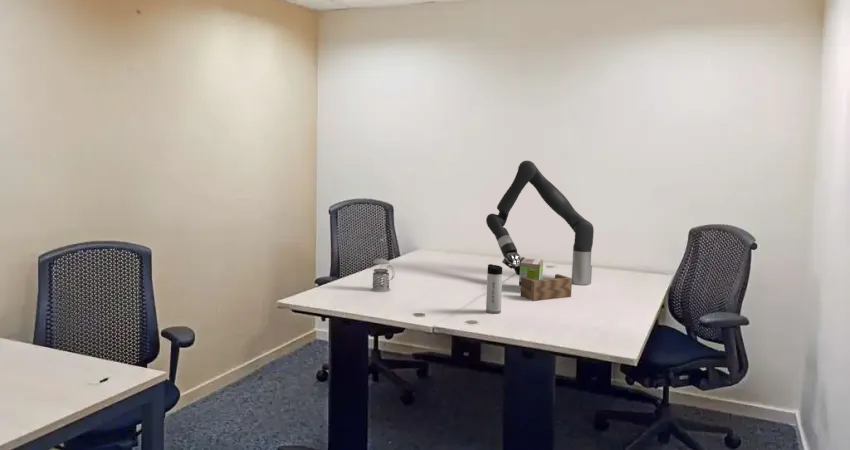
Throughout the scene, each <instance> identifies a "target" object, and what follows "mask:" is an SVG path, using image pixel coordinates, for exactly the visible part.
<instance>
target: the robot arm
mask: <svg viewBox="0 0 850 450" xmlns="http://www.w3.org/2000/svg"><path fill="white" fill-rule="evenodd" d="M527 184H531V185H532V187H533V188H535V190H536V191H537V192H538V194H539V196H540V197H541V199H542V200H543V202H545V204H546V205H547V206H548V207H549V208H550V209H551V210H553V211H554V212H555V213H556V214H557V215H558V216H560V218H562V219H563V220H564V221H565V222H566V223H567V224H568V226H569V227H570V228H571V229H572V230H573V232H574V243H573V249H572V264H571V265H572V266H571V267H572V268H571V278H572V284H573V285H577V286H578V285H579V286H588V285H590V284H592V273H593V272H592V271H593V266H592V250H593V249H592V248H593V244H594V232H595V231H594V229H595V228H594V225H593V224H592V223H591V222H590V221H589V220H587V219H585V218H584V217H583V216H582V215H580V213H579V212H578V211H576V209H575V208H574V207H573V206H572V203H570V201H569V199H568V198H567V197H566V196H565V195H564V194H563V193H562V191H561V190H559V189H558V188H557V187H556V186H555V185H554V183H553V182H551V181H549V180H548V179H547V178H546V177H545V176H544V175H543V173H542V172H541V171H540V170H539V169H538V167H537V166H536V165H535V163H534V162H532V161H531V160H523V161H522V162H520V163H519V165H518V167H517V172H516V175H515V177H514V179H513V181H512V183H511V184H510V186H509V188H508V189H507V190H506V191H505V193H504V194H503V195H502V197H501V199H500V201H499V203H498V204H497V206H496V209H497V210H498V211H499V212H498V213H497V214H496V213H489V214H488V215H487V216H486V218H485V219H486V220H485V221H486V225H487V227H488V228H489V230H490V231H491V233H492V234H493V235H494V237H495V239H496V241H497V244H498V248H499V249H500V251H501V253H502V255H503V260H502V261H501V263H503V264H504V265H505V266H507V268H509V269H511V270H512V269H513V270H514V272H515V274H516V275H517V276H520V263H521V261H522V260H523V259H524V258H525V257H524V256H523V257H521V256H520V254H519V253H518V250H517V247H516V245H515V243H514V241H513V239H512V237H511V236H510V233H509V231H508V230H507V228H505V227H504V226H505V225H506V223H507V221H508V217H509V213H510V212H511V210H512V208H513V206H514V205H515V203H516V202H517V200H518V198H519V196H520V194H521V193H522V191H523V189H524V188H525V187H526V185H527Z"/></svg>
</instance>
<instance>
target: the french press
mask: <svg viewBox="0 0 850 450" xmlns="http://www.w3.org/2000/svg"><path fill="white" fill-rule="evenodd" d="M379 242H380V248H382V242H384V239H383V238H380V239H379ZM372 264H375V265H387V267H386V268H374V269H373V272H372V288H371V289H370V291H371V292H373V293H388V292H392V290H391V288H390V281H392V280H393V279H394V278H395V275H392V276H391V278H390V272H389V269H391V271H392V272H393V274H395V268H394V267H393V266H392V265H391V264H390V261H389V260H387V259H386V258H383V257H380V258H376V259H374V260H373V261H372ZM388 264H390V265H388Z"/></svg>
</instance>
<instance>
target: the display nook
mask: <svg viewBox="0 0 850 450" xmlns="http://www.w3.org/2000/svg"><path fill="white" fill-rule="evenodd" d="M572 284H573V283H572V277H568V276H567V275H564V274H563V275H562V274H559V273H558V274H557V273H556V274H554V278H548V279H542V280H536V281H535V280H532V279H529V278H526V277H522V278H521V292H520V297H521V298H524V299H526V300H529V301H532V302H538V301H546V300H554V299H555V300H557V299H564V298H571V297H572V289H573V285H572Z"/></svg>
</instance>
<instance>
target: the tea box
mask: <svg viewBox="0 0 850 450" xmlns="http://www.w3.org/2000/svg"><path fill="white" fill-rule="evenodd" d="M519 263H520V262H519ZM543 272H544V259H539V258H537V259H536V258H526V257H524V259H523V260H522V261H521V263H520V275H518V277H519V278H518V279H519V280H518V292H519V293H521V278H522V277H526V278H529V279H532V280H535V281H536V280H543Z"/></svg>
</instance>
